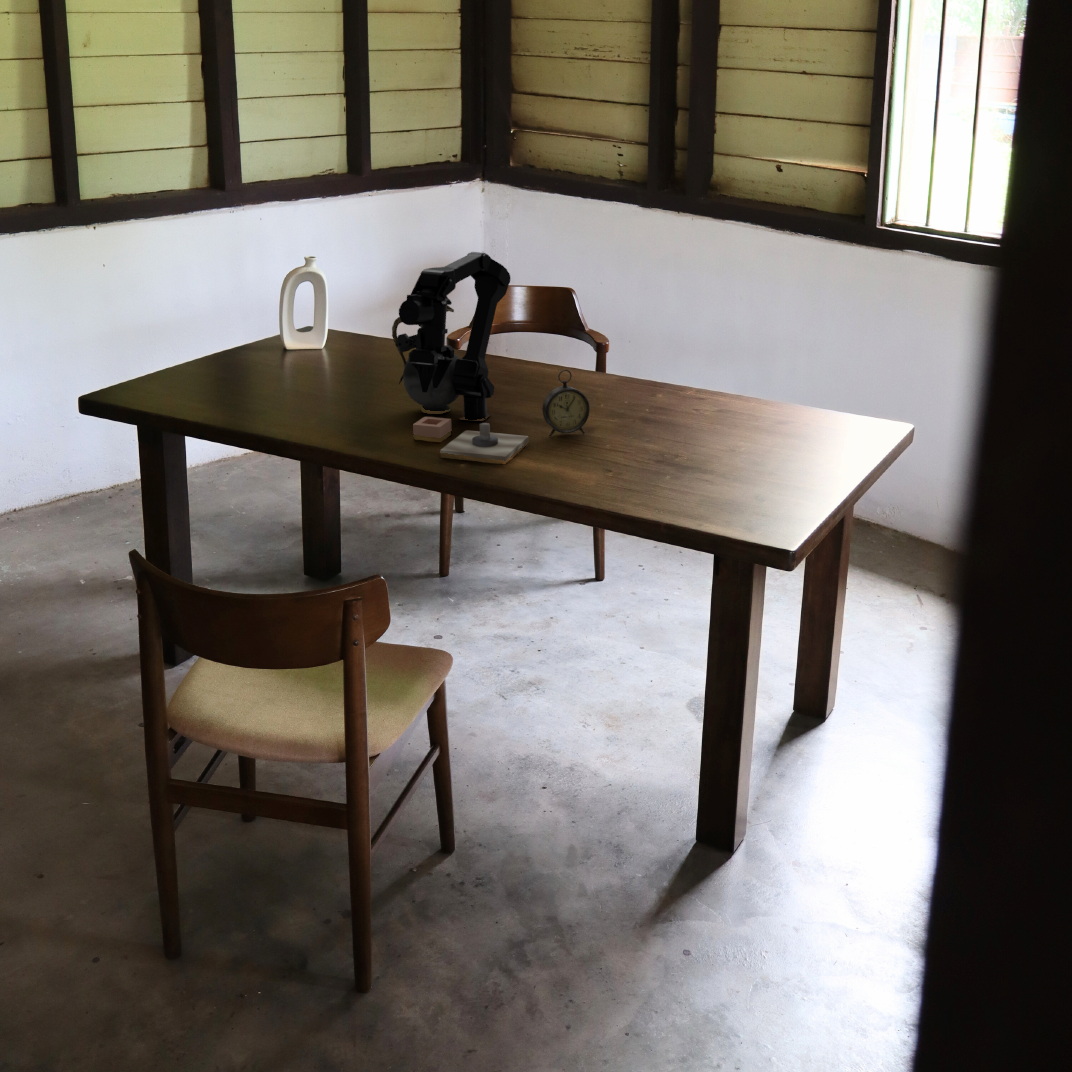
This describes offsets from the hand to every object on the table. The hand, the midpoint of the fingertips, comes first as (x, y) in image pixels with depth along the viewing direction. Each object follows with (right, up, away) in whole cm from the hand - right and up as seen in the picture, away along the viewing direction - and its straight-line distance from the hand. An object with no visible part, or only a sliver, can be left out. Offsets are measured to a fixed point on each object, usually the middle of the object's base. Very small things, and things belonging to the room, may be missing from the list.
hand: (430, 390), depth 282 cm
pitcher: (-3, -2, +27) cm, 27 cm away
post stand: (+13, -15, -4) cm, 21 cm away
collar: (0, -11, +6) cm, 12 cm away
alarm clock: (+32, -10, +7) cm, 35 cm away
